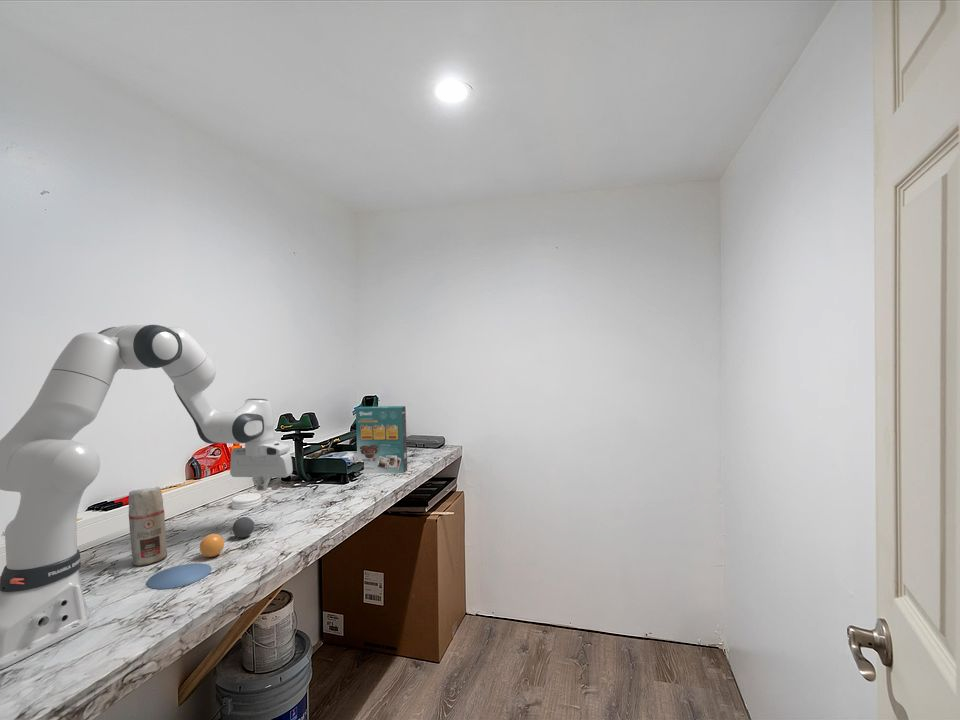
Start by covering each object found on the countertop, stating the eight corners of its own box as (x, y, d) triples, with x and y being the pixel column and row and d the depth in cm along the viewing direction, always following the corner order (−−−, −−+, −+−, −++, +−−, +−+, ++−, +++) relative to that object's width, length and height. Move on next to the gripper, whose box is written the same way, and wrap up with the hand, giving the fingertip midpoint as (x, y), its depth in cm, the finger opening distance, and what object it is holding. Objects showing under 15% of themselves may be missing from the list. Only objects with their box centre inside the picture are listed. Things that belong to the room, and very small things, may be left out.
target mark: (184, 590, 117) (184, 589, 117) (132, 587, 119) (132, 587, 119) (223, 564, 131) (223, 564, 131) (176, 563, 133) (175, 562, 133)
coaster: (242, 511, 176) (242, 502, 176) (226, 507, 181) (225, 498, 181) (267, 504, 185) (266, 494, 185) (250, 500, 190) (250, 491, 190)
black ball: (246, 541, 147) (245, 521, 147) (228, 540, 148) (227, 520, 148) (258, 533, 153) (257, 514, 153) (240, 533, 154) (240, 514, 154)
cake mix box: (407, 470, 231) (405, 406, 230) (403, 473, 225) (401, 407, 224) (362, 469, 234) (360, 406, 233) (357, 473, 228) (355, 408, 227)
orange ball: (214, 561, 133) (214, 539, 133) (194, 560, 134) (193, 538, 134) (229, 552, 139) (228, 530, 139) (209, 551, 140) (209, 530, 140)
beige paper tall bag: (125, 568, 130) (121, 493, 130) (137, 556, 138) (134, 485, 138) (161, 564, 132) (158, 490, 132) (171, 552, 140) (168, 482, 140)
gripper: (224, 450, 159) (226, 492, 159) (283, 450, 156) (285, 493, 156) (236, 446, 165) (238, 487, 165) (294, 445, 162) (296, 487, 162)
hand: (262, 490), depth 161 cm, fingers closed
